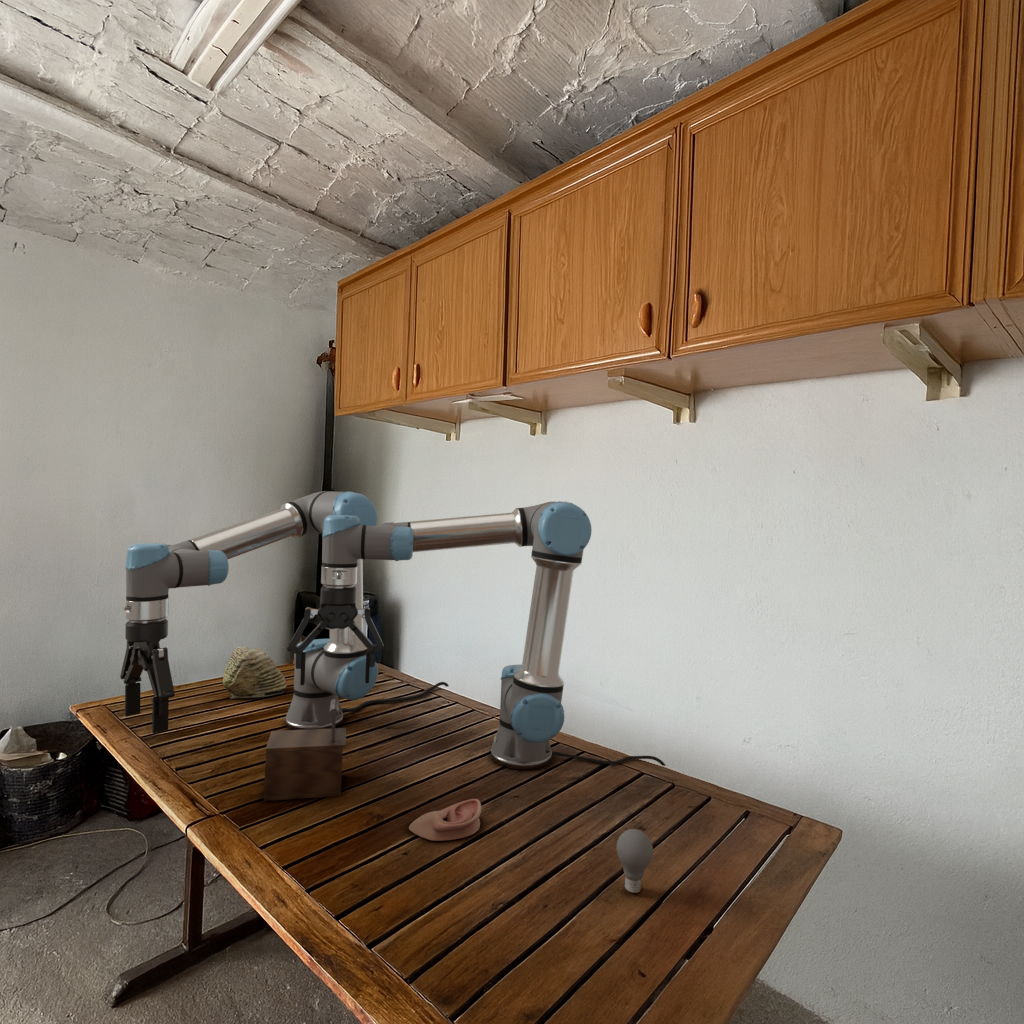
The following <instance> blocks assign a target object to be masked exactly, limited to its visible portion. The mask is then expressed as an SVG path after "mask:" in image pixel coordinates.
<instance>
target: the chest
mask: <svg viewBox="0 0 1024 1024" xmlns="http://www.w3.org/2000/svg"><path fill="white" fill-rule="evenodd" d="M343 750H344V748H342V749H323V750H304V751H285V752H266V751H265V756H264V757H265V758H264V763H265V764H264V785H263V802H273V801H287V800H300V799H315V798H329V797H340V796H342V776H343V756H344V755H343V754H344V753H343V752H344V751H343Z"/></svg>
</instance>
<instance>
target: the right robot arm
mask: <svg viewBox="0 0 1024 1024" xmlns="http://www.w3.org/2000/svg"><path fill="white" fill-rule="evenodd" d="M592 530H593V529H592V523H591V520H590V517H589V516H588V514H587V513H586V511H585V510H584V509H582V508H581V507H580V506H578V505H577V504H574V503H572V502H568V501H560V500H559V501H546V502H542V503H539V504H535V505H529V506H525V507H516V508H515V509H514V510H513V511H512V512H505V513H491V514H482V515H481V514H480V515H471V516H470V515H469V516H460V517H446V518H435V519H425V520H413V521H403V522H401V521H400V522H384V523H383V524H381V525H376V526H367V525H360V522H359V518H358V517H357V516H349V515H329V516H327V517H326V518H325V520H324V530H323V535H322V534H321V536H322V537H323V538H322V537H321V538H322V546H321V547H322V549H321V551H322V552H321V560H322V561H321V572H320V573H321V575H320V576H321V577H320V584H321V585H323V586H321V588H320V601H319V607H318V608H312V607H311V606H306V608H305V610H304V613H303V619H302V620H301V622H300V624H299V626H298V628H297V629H296V631H295V633H294V634H293V636H292V638H291V640H290V641H289V643H288V645H287V648H286V650H287V651H288V652H289V653H290V652H291V653H293V654H294V655H295V654H296V666H295V665H294V668H295V667H296V669H301V679H300V685H304V683H305V663H306V652H303V651H304V650H305V649H306V648H307V647H308V645H309V644H310V643H311V642H312V641H313V640H316V638H317V637H318V636H319V635H320V634H321V633H322V632H323V631H324V630H325V629H326V628H327V629H329V630H330V629H336V628H339V629H345V628H347V627H349V628H350V629H351V630H352V631H353V632H354V633H355V634H356V636H357V637H358V638H359V639H360V640H361V642H362V643H363V644H364V645H365V646H366V647H367V649H368V650H369V651H366V671H365V683H369V670H370V667H374V666H375V662H376V654H377V652H379V651H383V650H384V649H385V645H384V643H383V640H382V638H381V636H380V633H379V632H378V629H377V627H376V626H375V623H374V621H373V619H372V617H371V608H370V607H369V606H365V607H363V609H357V608H356V587H355V586H354V585H355V584H356V583H357V561H358V559H363V560H375V561H378V560H379V561H395V562H399V561H410V560H412V558H413V556H414V555H413V554H414V553H422V552H433V551H443V550H455V549H465V548H479V547H488V546H497V545H498V546H499V545H509V544H510V545H511V544H514V545H516V546H518V547H520V548H521V547H532V548H531V555H530V557H531V559H532V561H534V563H535V574H534V581H533V587H532V594H531V600H530V607H529V614H528V622H527V628H526V636H525V640H524V641H525V642H524V643H525V644H524V648H523V657H522V663H521V664H510V665H506V666H504V667H503V668H502V670H501V676H500V680H501V682H500V705H499V725H498V728H497V731H496V734H495V735H494V737H493V742H492V745H491V747H490V758H491V760H492V761H493V762H494V763H496V764H497V765H499V766H501V767H505V768H508V769H513V770H526V771H527V770H537V769H540V768H543V767H546V766H547V765H549V764H550V763H551V762H552V759H553V757H552V756H556V757H557V756H558V757H563V758H570V759H576V760H580V761H581V760H582V761H587V762H590V763H595V764H601V765H608V766H609V765H610V766H611V765H619V764H621V763H625V762H626V761H630V760H631V761H632V760H653V761H655V762H657V763H659V764H660V765H661V766H663V767H665V766H667V765H666V763H665V762H664V761H663V760H662V759H660V758H659V757H656V756H653V755H629V756H625V757H623V758H621V759H617V760H602V759H601V760H600V759H596V758H592V757H587V756H581V755H575V754H571V753H564V752H558V751H552V746H551V742H550V741H551V740H552V739H553V738H555V737H556V736H557V735H558V734H559V733H560V732H561V730H562V729H563V726H564V722H565V710H564V707H563V704H562V701H563V693H564V686H565V681H564V679H563V678H562V677H561V675H560V667H561V659H562V653H563V647H564V639H565V633H566V626H567V619H568V613H569V606H570V598H571V592H572V584H573V578H574V571H575V570H576V569H577V568H578V567H580V566H581V565H582V562H583V557H584V556H583V555H584V550H585V548H586V547H587V546H588V544H589V543H590V540H591V537H592V532H593V531H592ZM357 614H360V615H361V617H362V618H363V619H364V620H365V623H366V625H367V627H368V629H369V631H370V633H371V635H372V639H373V640H374V643H375V644H374V643H373V642H372V641H371V640H370V638H368V636H367V635H366V634H365V633H364V631H363V632H362V631H361V629H360V628H359V627H358V626H357V624H356V623H355V622H354V621H353V620H354V619H355V617H356V616H357ZM316 615H317V616H318V618H319V619H320V620H321V621H320V622H319V623H318V624H317V625H316V627H315V628H314V629H313V630H312V631H311V632H310V633H309V634H308V635H307V636H306V637H305V638H304V639H303V641H301V642H302V643H301V642H300V643H301V644H300V645H299V646H297V644H298V642H299V640H300V638H301V636H302V635H303V633H304V631H305V629H306V627H307V626H308V624H309V621H310V620H311V619H314V617H315V616H316Z"/></svg>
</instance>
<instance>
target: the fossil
mask: <svg viewBox="0 0 1024 1024" xmlns="http://www.w3.org/2000/svg"><path fill="white" fill-rule="evenodd" d="M222 676H223V677H222V685H223V687H224V688H225V690H226V691H228V693H229V698H230V699H250V698H264V697H271V696H275V695H281V694H284V693H285V691H286V689H287V687H288V686H287V680H286V678H285V676H284V674H283V673H282V672H281V669H279V668H278V667H277V665H276V663H275V662H274V660H273V659H272V658H271V657H270V656H269V655H268V654H267V653H266V652H265V650H264V649H263V648H260V647H258V648H251V647H247V646H246V647H245V646H238V647H237V648H236V649H235V650H233V651H232V653H231V656H230V657H229V659H228V660H227V663H226V666H225V668H224V671H223V675H222Z"/></svg>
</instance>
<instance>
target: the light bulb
mask: <svg viewBox="0 0 1024 1024" xmlns="http://www.w3.org/2000/svg"><path fill="white" fill-rule="evenodd" d="M615 849H616V854H617V857H618V859H619V861H620V863H621V865H622V867H623V873H624V874H623V875H624V876H625V878H624V888H625V890H627V891H628V892H630V893H634V894H635V893H639V892H640V891H641V889H642V887H641V886H642V879H643V877H644V875H645V871H646V868H647V867H648V866H649V864H650V863H651V861H652V859H653V855H654V847H653V843H652V841H651V838H649V836H648V835H647V834H646V833H645V832H643V831H642V830H641V829H636V828H629V829H627V830H625V831H623V832H622V833H621V834H620V835H619V837H618V839H617V841H616V847H615Z"/></svg>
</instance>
